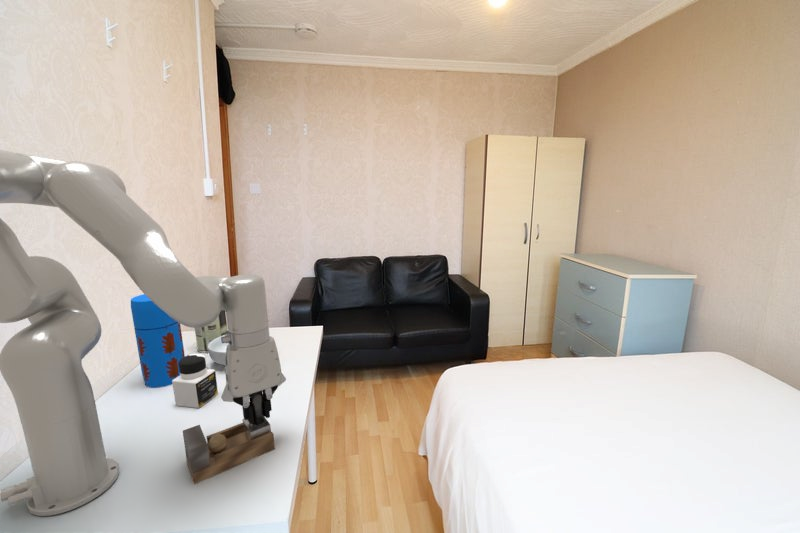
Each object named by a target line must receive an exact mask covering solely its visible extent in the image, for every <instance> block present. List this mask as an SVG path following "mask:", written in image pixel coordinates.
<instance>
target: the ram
mask: <svg viewBox="0 0 800 533" xmlns="http://www.w3.org/2000/svg"><path fill="white" fill-rule="evenodd" d="M249 402H250V404H251V405H252V408H253V417H254V423H253V424H251V425H250V423H249V422H248V420H245V419H244V418H243V419H242V423H243V429H244V432H245V434H246V436H247V437H248V439H249V441H250V440H253V439H255V438H258V437H260V436H263V435H265V434H267V433H270V432H272V428H271V427H272V426H271V424H270V422H269V421H268V418H266V417H265V414H264V404H263V392H262V391H259V392H256V393H253V394H250V395H249Z"/></svg>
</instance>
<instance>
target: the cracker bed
mask: <svg viewBox="0 0 800 533" xmlns="http://www.w3.org/2000/svg"><path fill="white" fill-rule="evenodd" d="M216 434H222V435H224V436H225V437H226V439H227V444H226V447H225V448H224V449H223V450H222V451H221V452H218V453H213V452H211V451H210V450H209V449H208V442H209V440H210V438H211V437H212V436H214V435H216ZM182 435H183V436H182V437H183V441H184V442H183V443H184V450H185V457H186V462H187V466H188V469H189V472H190V475H191V476H190V477H191V478H192V483H193V485H195V484H198V483H200V482H203V481H205V480H208V479H210V478H212V477H215V476H216V475H219V474H221V473H224V472H225V471H227V470H230V469H232V468H235V467H237V466H239V465H241V464H244V463H246V462H249V461H250V460H253V459H255V458H258V457H259V456H263V455H264V454H267V453H268V452H271V451H273V450H275V449H276V448H275V447H276V446H275V437H274V432H273V431H271V432H270V433H267V434H265V435H263V436H260V437H258V438H255V439H253V440H250V441H249V439H248V437H247V436H246V434H245V432H244V429H243V422H240V423H239V424H236V425H233V426H230V427H228V428H224V429H222V430H220V431H216V432H215V433H212V434H210V435H209V434H208V435H206V437H205V434H204V432H203V430H202V427H201V425H200V424H197V425H195V426H192V427H189V428H185V429H183V430H182Z"/></svg>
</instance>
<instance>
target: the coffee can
mask: <svg viewBox="0 0 800 533" xmlns="http://www.w3.org/2000/svg"><path fill="white" fill-rule="evenodd" d="M227 330H228V324H227V315H226V311H225V310H221V312H220V314H219V316H218V317H217V319H216V320H215V321H214V322H212V323H211V324H209V325H207V326H205V327H201V328H194V332H195V339H196V340H195V341H196V346H197V352H198V353H200V354H201V353H202V354H209V352H208V344H209V343H210V342H211V341H213V340H214V339H216V338H218V337H221V336H223V335H227V333H228V331H227Z"/></svg>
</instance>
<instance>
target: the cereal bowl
mask: <svg viewBox="0 0 800 533" xmlns="http://www.w3.org/2000/svg"><path fill="white" fill-rule="evenodd" d="M223 336H225V335H223ZM223 336H221V337H223ZM221 337H218V338H216V339H214V340H213V341H211V342H210V343H209V344H208V352H209V353H208V355H209V357H210V359H211V360H212V361H213V362H214V363H217V364H219V365H221V366H225V365H226V349H227V345H228V344H229V343H223V344H222V342H221Z"/></svg>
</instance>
